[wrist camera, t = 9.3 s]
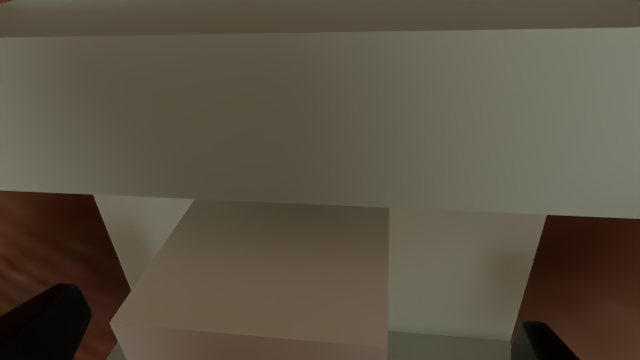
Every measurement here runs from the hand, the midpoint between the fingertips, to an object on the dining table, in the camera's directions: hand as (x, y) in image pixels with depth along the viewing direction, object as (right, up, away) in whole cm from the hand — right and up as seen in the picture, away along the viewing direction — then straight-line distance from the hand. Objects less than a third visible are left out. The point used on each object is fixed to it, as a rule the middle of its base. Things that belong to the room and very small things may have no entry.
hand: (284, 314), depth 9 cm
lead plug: (0, +1, +2) cm, 3 cm away
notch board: (+1, +2, +3) cm, 4 cm away
